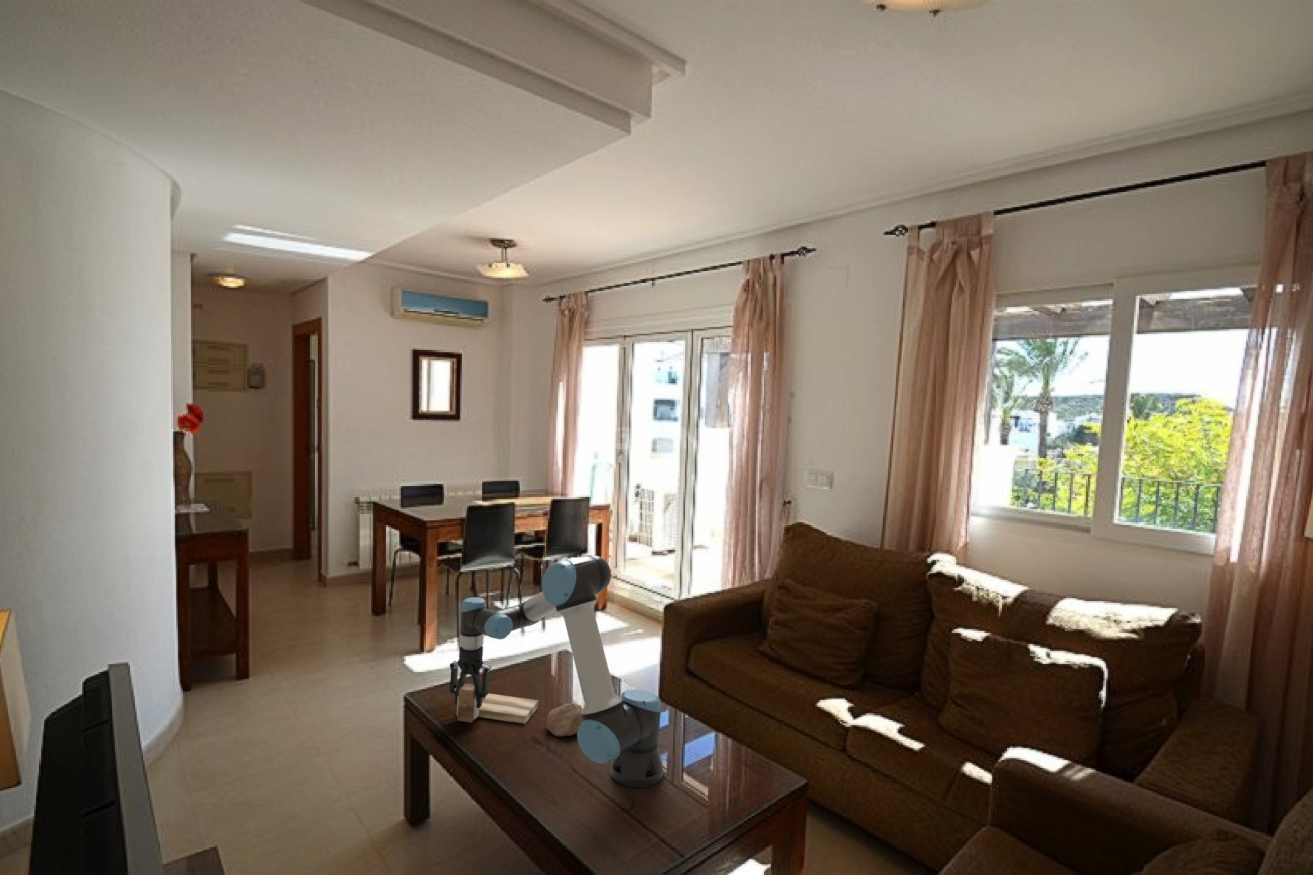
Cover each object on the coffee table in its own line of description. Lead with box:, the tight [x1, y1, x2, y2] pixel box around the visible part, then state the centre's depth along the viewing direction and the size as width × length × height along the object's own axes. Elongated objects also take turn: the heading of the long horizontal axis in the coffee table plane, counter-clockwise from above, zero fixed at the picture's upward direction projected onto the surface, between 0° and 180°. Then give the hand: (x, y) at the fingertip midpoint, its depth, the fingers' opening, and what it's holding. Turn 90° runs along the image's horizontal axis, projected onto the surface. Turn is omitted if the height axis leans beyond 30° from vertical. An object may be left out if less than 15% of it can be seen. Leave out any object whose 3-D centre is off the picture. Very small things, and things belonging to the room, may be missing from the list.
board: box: [477, 692, 539, 725], centre depth 214 cm, size 12×24×3 cm, turn 80°
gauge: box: [456, 683, 485, 724], centre depth 212 cm, size 15×5×10 cm, turn 170°
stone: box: [546, 702, 583, 737], centre depth 204 cm, size 12×9×10 cm
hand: (467, 715), depth 207 cm, fingers closed on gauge, 5 cm apart
